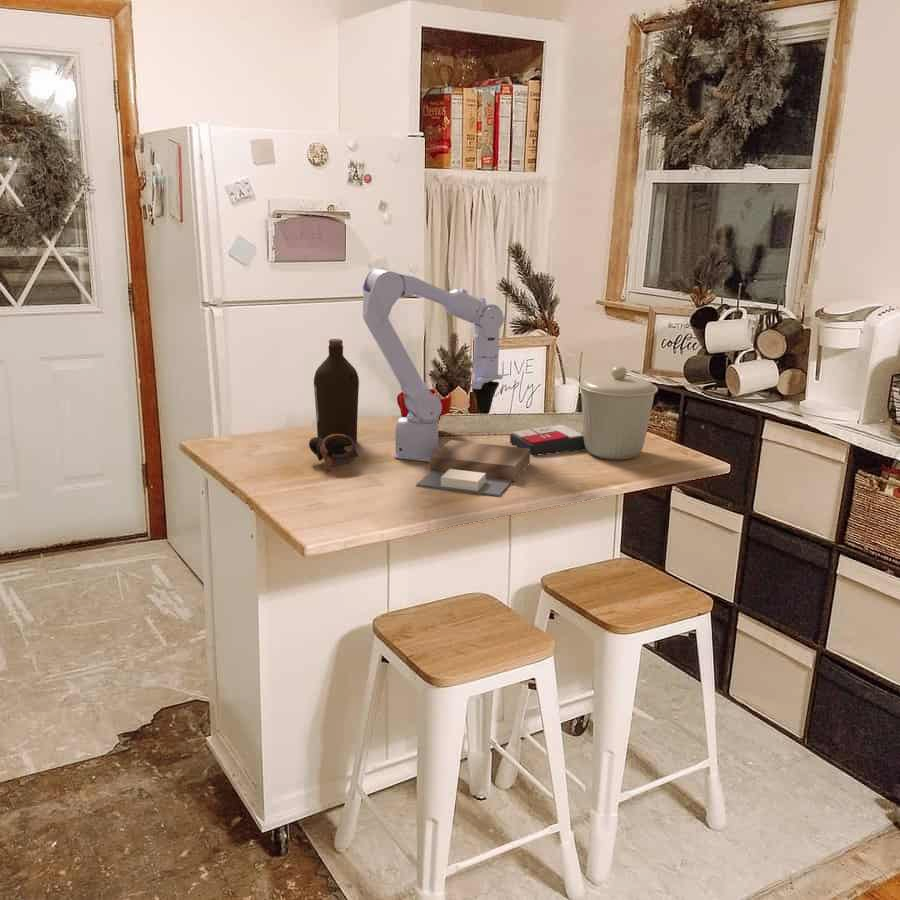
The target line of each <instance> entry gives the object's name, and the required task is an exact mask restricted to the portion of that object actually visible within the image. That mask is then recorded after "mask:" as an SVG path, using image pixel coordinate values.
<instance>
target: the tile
mask: <svg viewBox="0 0 900 900" xmlns="http://www.w3.org/2000/svg"><path fill="white" fill-rule="evenodd" d="M485 482H486V473H480V472H472V471H464V470H456V469H449V470H448V471H447V472H446V473H445V474H444V475H443V476H442V477H441V486H443V487H451V488H458V489H466V490H474V491H478V490H479V489H480V488H481V487H482V486H483V485H484V483H485Z"/></svg>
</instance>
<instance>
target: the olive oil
mask: <svg viewBox="0 0 900 900" xmlns="http://www.w3.org/2000/svg"><path fill="white" fill-rule="evenodd" d="M343 343H344V342H343V339H339V338H330V339H329V340H328V344H329V345H328V356H327V357H326V359H325V360H324V361H323V362H322V363H321V364H320V365H319V366H318V368H316V371H315V372H314V377H313V389H314V402H315V403H314V404H315V417H316V433H317V436H316V437H319V438H321V439H325V438H326V437H327V436H329V435H332V434H343V435H346V436H349V437H350V438H352V439H353V440H354V442H355V445H356V444H357V442H358V411H359V407H358V406H359V388H360V387H359V386H360V378H359V375H358V372H357V370H356V368H355V367H354V366H353V365H352V364H351V363H350V361H348V359H346V357H345V356H344V345H343ZM328 443H329V442H327V443H326V444H328ZM348 447H352V445H351V444H350V442H349V443H348V444H346V446H345V448H348Z"/></svg>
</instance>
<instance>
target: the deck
mask: <svg viewBox="0 0 900 900" xmlns="http://www.w3.org/2000/svg"><path fill="white" fill-rule="evenodd" d="M530 460H531V455H530V449H527V448H518V447H515V446H508V445H499V444H488V443H481V442H471V441H462V440H454V439H450V440H449V441H447V442H446V443H445V444H444V445H442V446H441V447H440V448H438V451H437V452H435V453H434V454H433V455H432V456H430V462H429V463H430V464H429V465H430V466H429V467H430V468H429V469H430V472H431V471H439V472H447V471H448V470H449V469H456V470H464V471H472V472H480V473H486V477H488V478H496V479H504V480H512V481H515V480H516V481H517V480H518V478H519V477H520V476H521V475H522V474H523V472H524V471H525V470H526V469H527V467H529V465H530V464H529V463H531V461H530ZM528 464H529V465H528ZM525 468H526V469H525ZM524 469H525V470H524ZM430 472H429V473H430ZM520 474H521V475H520ZM519 475H520V476H519ZM516 481H515V482H516Z"/></svg>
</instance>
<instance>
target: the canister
mask: <svg viewBox="0 0 900 900" xmlns="http://www.w3.org/2000/svg"><path fill="white" fill-rule="evenodd" d="M627 373H628V371H627V368H626V367H624V366H623V365H622V366H621V365H615V366H613V367H612V368H611V374H598V375H591V376H589V377H587V378H585V379H584V380H581V381H580V382H579V383H578V387H579V389H580V392H581V394H580V395H581V417H582V418H581V419H582V421H581V422H582V434H583V436H584V444H585V450H586V451H587V452H588V453H590V454H591V455H592V456H595V457H597V458H602V459H605V460H614V461H615V460H617V461H618V460H621V461H622V460H628V459H629V460H630V459H633V458H636V457H638V456H639V455H640V454H641V452H642V450H643V447H644V445H645V441H646V437H647V433H648V427H649V423H650V420H651V419H650V418H651V414H652V413H651V412H652V408H653V404H654V398H655V394H656V393H658V391H659V389H658V386H656V385H655V384H653V382H651V381H649V380H648V379H644V378H642V377H637V376H632V375H627Z"/></svg>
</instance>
